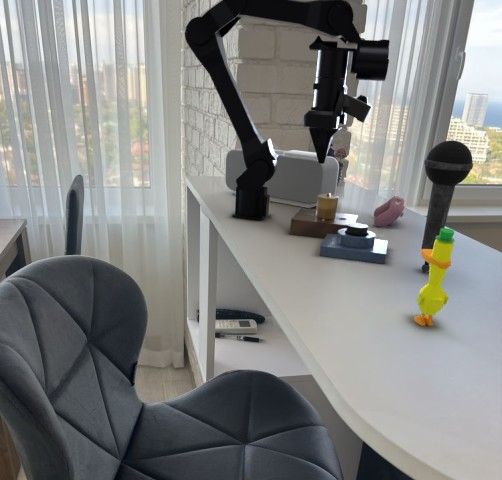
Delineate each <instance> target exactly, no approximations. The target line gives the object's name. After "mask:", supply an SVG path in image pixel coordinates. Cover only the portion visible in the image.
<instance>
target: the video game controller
mask: <svg viewBox="0 0 502 480" xmlns="http://www.w3.org/2000/svg"><path fill="white" fill-rule="evenodd" d="M404 210H405V199H404V198H403V197H401V196H399V195H397V196H396V195H394V196H392V197H391V198H389V199H388V201H386V202H385V203H383V204H382V205H380V206H378V207H377V208H376V209H375V210H374V211H373V217H374V221H373V223H374V226H375V227H378V228H379V227H380V228H381V227H386V226H388V225H389V226H391V225H392V224H393V223H394V222H395V221H397V220H398V219H399V218H401V219H402V218H403V217H404V215H405V212H404Z"/></svg>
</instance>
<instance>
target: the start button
mask: <svg viewBox="0 0 502 480" xmlns="http://www.w3.org/2000/svg"><path fill="white" fill-rule="evenodd" d="M367 231H369V226H368V225H367V224H366V223H360V222H357V223H349V224H347V230H346V234H348V235H352V236H367Z"/></svg>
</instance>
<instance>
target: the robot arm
mask: <svg viewBox="0 0 502 480" xmlns="http://www.w3.org/2000/svg"><path fill="white" fill-rule="evenodd" d="M354 15H355V14H354V11H353V8H352V6H351V4H350V2H349V1H347V0H308V1H307V0H306V1H304V0H220V1H218V3H216V4H214V5H213V6H212V7H210V9H208V10H206V12H205V13H204V14H203V15H202V16H195V17H193V18H192V19H190V20H189V21H188V23H187V25H186V26H185V30H184V39H185V42H186V44H187V46H188V47H189V48H190V50H191V51H192V53H193V54H194V57H195V58H196V59H197V60H198V62H199V63H200V64H201V65H202V67H203V68H204V69H205V71H206V72H207V73H208V75H209V77H210V79H211V81H212V83H213V86H214V88H215V90H216V92H217V95H218V97H219V99H220V101H221V103H222V105H223V107H224V110H225V112H226V114H227V116H228V118H229V120H230V122H231V124H232V127H233V129H234V131H235V133H236V135H237V138H238V140H239V142H240V147H241V148H242V153H243V158H244V162H245V165H246V170H245V171H244V172H243V173H242V174H241V175H240V176H239V177H238V178H237V179H236V183H237V186H236V195H235V200H234V201H235V202H234V203H235V206H234V213H232V217H233V218H238V219H248V220H256V221H262V220H264V219H265V217H267V216H268V215H269V213H270V212H269V211H270V210H269V209H270V201H269V198H270V196H269V195H268V194H267V190H268V187H263V185H264V184H265V182H267V181H269V180H270V179H271V178H272V176H273V175H274V173H275V171H276V169H277V160H276V159H277V157H278V155H277V154H276V153H275V151H274V150H275V149H274V146H273V143H272V139H271V138H270V137H269V138H267V139H265V140H264V139H263V137H262V136H261V134H259V132H258V130H257V127H256V125H255V123H254V120H253V119H252V116H251V114H250V111H249V110H248V107H247V105H246V103H245V101H244V98H243V96H242V94H241V92H240V90H239V87H238V85H237V83H236V80H235V78H234V76H233V74H232V72H231V69H230V66H229V64H228V59H227V53H226V50H225V49H226V48H225V44H224V41H223V38H224V37H225V36H226V35H227V34H229V32H230V31H232V29H233V28H234V27H235V26H236V24H237V23H238V22H239V21H241V20H242V19H243V18H247V19H254V20H258V21H259V20H260V21H265V22H272V23H279V24H286V25H291V26H296V27H297V26H298V27H302V28H304V29H306V30H309V31H312V32H314V33H317V34H319V35H317V36H316V38H315V40H314V41H313V42H312V43H310V44H309V45H308V50H309V51H311V52H317V62H316V71H315V82H314V83H312V84H313V85H312V89H313V90H314V93H313V104H312V106H311V107H310V110H308V111H307V112H306V113H305V114H304V115H303V120H302V123H303V124H302V127H305V128H308V131H309V135H310V138H311V141H312V144H313V148H314V151H315V153H316V155H317V159H318V162H319V163H320V164H324V163H325V160H326V157H327V156H328V153H329V150H330V147H331V144H332V141H333V138H334V136H335V135H336V134H337V133H338V132H339V131H341V130H342V129H343V127H342V126H339V124H341V125H346V123H347V117H348V116H351V117H352V118H355V119H356V120H357V121H358V122H361V123H363V124H364V123H366V121H367V118H368V116H369V115H370V113H371V111H372V108H373V105H371V104H369V97H368V96H366V95H364V94H360V95H359V96H357V97H355V96H353V95H350V94H349V93H348V86H347V85H346V79H347V70H348V64H349V55H350V53H351V59H350V68H349V74H352V75H354V80H357V81H371V82H385V81H386V78H387V76H388V75H387V74H388V71H389V70H388V69H389V63H390V59H389V57H390V56H389V53H390V39H377V40H376V39H375V40H374V39H362V38H361V35H360V32H358V30H357V28H356V25H355V24H354ZM321 35H322V36H324V37H326V38H330V39H331V40H323V39H322V38H321ZM337 39H338V40H340V41H342V43H343V44H345V46H348V47H338V44H339V43H338V41H336V40H337ZM351 47H353V48H351ZM347 115H348V116H347Z"/></svg>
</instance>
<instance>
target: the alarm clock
mask: <svg viewBox="0 0 502 480" xmlns="http://www.w3.org/2000/svg"><path fill="white" fill-rule="evenodd" d="M274 151H275V153H276V154H277V155H278V157H277V159H276V160H277V169H276V171H275V173H274V175H273V176H272V178H271V179H270V180H269V181H267V182H265V184H264V185H263V187H268V190H267V194H268V195H269V196H270V198H269V202H274V203H279V204H285V205H291V206H296V207H302V208H308V209H311V208H313V207H317V198H318V195H320V194H328V193H331V195H335V196H336V193H337V188H338V180H339V173H340V171H339V170H340V164H339V161H338V160H337V159H336V158H335V157H333V156H330V155H329V156H328V155H327V157H326V160H325V163H324V164H320V163H319V162H318V159H317V155H316V152H314V151H305V150H297V149H292V150H281V149H280V150H279V149H274ZM245 170H246V165H245V162H244V158H243V153H242V147H241V148H233V149H230V150H228V151H227V153H226V155H225V173H224V175H225V177H224V181H225V185H226V187H227V188H228V189H229V190H231V191H234V196H236V186H237V183H236V179H237V178H238V177H239V176H240V175H241V174H242V173H243V172H244V171H245Z"/></svg>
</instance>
